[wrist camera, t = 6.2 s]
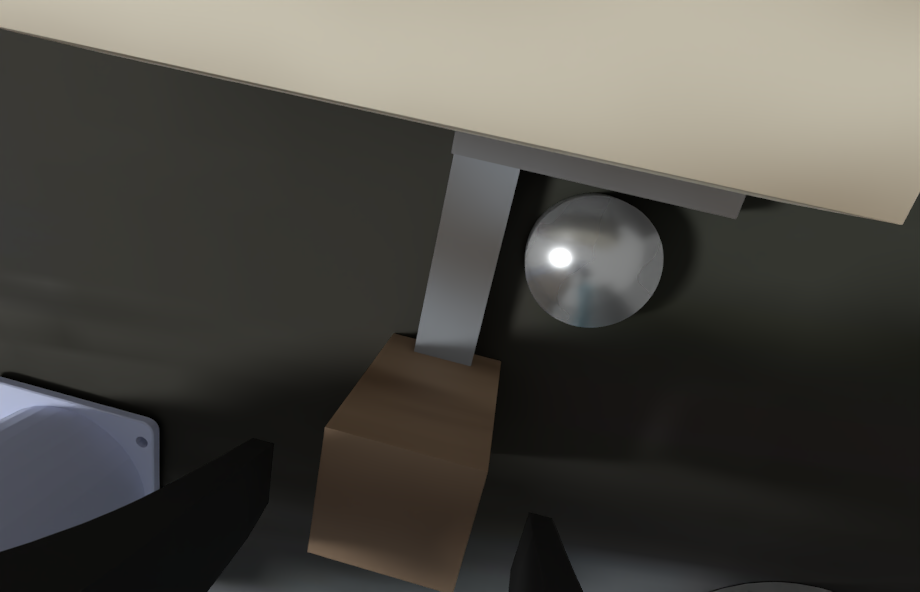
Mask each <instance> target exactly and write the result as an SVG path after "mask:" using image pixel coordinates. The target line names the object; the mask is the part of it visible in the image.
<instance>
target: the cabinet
mask: <svg viewBox="0 0 920 592" xmlns="http://www.w3.org/2000/svg"><path fill="white" fill-rule="evenodd" d="M0 28H1V29H5V30H9V31H13V32H17V33H22V34H26V35H30V36H34V37H38V38H42V39H47V40H51V41H55V42H59V43H63V44H68V45H72V46H76V47H80V48H84V49H88V50H93V51H97V52H101V53H105V54H110V55H114V56H119V57H123V58H128V59H132V60H137V61H141V62H146V63H151V64H155V65H160V66H164V67H169V68H173V69H178V70H182V71H187V72H191V73H196V74H200V75H205V76H210V77H214V78H219V79H223V80H228V81H232V82H237V83H241V84H246V85H250V86H255V87H260V88H264V89H269V90H273V91H278V92H282V93H287V94H291V95H296V96H300V97H305V98H309V99H314V100H319V101H323V102H328V103H332V104H337V105H341V106H346V107H350V108H355V109H359V110H364V111H368V112H373V113H378V114H382V115H387V116H391V117H396V118H400V119H405V120H409V121H414V122H418V123H423V124H428V125H432V126H437V127H441V128H446V129H450V130H455V131H459V132H464V133H468V134H473V135H477V136H482V137H487V138H491V139H496V140H500V141H505V142H509V143H514V144H518V145H523V146H527V147H532V148H537V149H541V150H546V151H550V152H555V153H559V154H564V155H568V156H573V157H577V158H582V159H586V160H591V161H596V162H600V163H605V164H609V165H614V166H618V167H623V168H627V169H632V170H636V171H641V172H645V173H650V174H655V175H659V176H664V177H668V178H673V179H677V180H682V181H686V182H691V183H695V184H700V185H705V186H709V187H714V188H718V189H723V190H727V191H732V192H736V193H741V194H745V195H750V196H754V197H759V198H764V199H768V200H773V201H777V202H783V203H788V204H793V205H799V206H804V207H809V208H815V209H820V210H825V211H830V212H836V213H841V214H846V215H852V216H857V217H862V218H868V219H873V220H878V221H884V222H889V223H894V224H899V225H903V223H904V221H905V219H906V217H907V215H908V213H909V211H910V209H911V208H912V206H913V204H914V202H915V200H916V198H917V196H918V194H919V192H920V0H0Z"/></svg>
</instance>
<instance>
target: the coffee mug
mask: <svg viewBox="0 0 920 592" xmlns="http://www.w3.org/2000/svg"><path fill="white" fill-rule="evenodd" d="M713 592H832V591H830V590H826V589H822V588H818V587H813V586H807V585H802V584H796V583H784V582H761V583H749V584H742V585H737V586H732V587H727V588H723V589H720V590H716V591H713Z"/></svg>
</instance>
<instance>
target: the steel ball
mask: <svg viewBox="0 0 920 592" xmlns="http://www.w3.org/2000/svg"><path fill="white" fill-rule="evenodd" d="M663 260H664V259H663V248H662V243H661V240H660V237H659V234H658V232H657V231H656V229H655V227H654V225H653V224H652V223H651V221H650V220H649V219H648V218H647V217H646V216H645V215H644V214H643V213H642V212H641V211H640V210H638V209H637V208H636V207H634V206H632V205H630V204H628V203H626V202H624V201H622V200H620V199H618V198H615V197H613V196H610V195H606V194H601V193H583V194H577V195H573V196H570V197H567V198H565V199H562V200H560V201H559V202H557V203H555V204H554V205H552V206H551V207H550V208H548V209H547V210H546V211H545V212H544V213H543V214H542V215H541V216H540V217H539V218H538V220H537V221H536V222H535V224H534V226H533V227H532V229H531V231H530V234H529V236H528V239H527V243H526V248H525V274H526V279H527V283H528V286H529V289H530V291H531V293H532V295H533V297H534V298H535V300H536V301H537V302H538V304H539V305H540V306H541V307H542V308H543V309H544V310H545V311H546V312H547V313H548V314H550V315H551V316H553V317H554V318H556V319H558V320H560V321H562V322H564V323H567V324H569V325H573V326H577V327H585V328H595V327H604V326H608V325H612V324H615V323H618V322H620V321H622V320H624V319H626V318H628V317H630V316H631V315H633V314H634V313H636V312H637V311H638V310H639V309H640V308H642V307H643V306H644V304H645V303H646V302H647V301H648V300H649V299H650V297H651V296H652V294H653V293H654V291H655V289H656V287H657V286H658V283H659V280H660V278H661V274H662V270H663Z"/></svg>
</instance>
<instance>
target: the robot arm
mask: <svg viewBox="0 0 920 592" xmlns="http://www.w3.org/2000/svg"><path fill="white" fill-rule="evenodd" d="M273 447H274V444H273V443H270V442H266V441H262V440H258V439H255V438H252V439H250V440H249V441H247V442H245V443H243V444H241V445H240V446H238V447H236V448H234V449H232V450H231V451H229V452H227V453H225V454H224V455H222V456H220V457H218V458H217V459H215V460H213V461H211V462H209V463H208V464H206V465H204V466H202V467H200V468H199V469H197V470H195V471H193V472H191V473H189V474H188V475H186V476H184V477H182V478H180V479H178V480H177V481H175V482H173V483H171V484H169V485H167V486H165V487H163V488H161V489H160V480H159V427H158V424H157V423H156V422H155V421H154V420H153V419H151V418H149V417H145V416H142V415H138V414H134V413H131V412H127V411H124V410H120V409H116V408H113V407H109V406H105V405H102V404H98V403H95V402H91V401H87V400H84V399H80V398H76V397H73V396H69V395H66V394H62V393H58V392H55V391H51V390H47V389H44V388H40V387H37V386H33V385H29V384H26V383H22V382H19V381H15V380H11V379H8V378H4V377H0V592H207V591H208V590H209V589H210V587H211V586H212V585H213V583H214V582H215V581H216V579H217V578H218V577H219V575H220V574H221V573H222V571H223V570H224V569H225V567H226V566H227V565H228V563H229V562H230V561H231V559H232V558H233V557H234V555H235V554H236V553H237V551H238V550H239V549H240V547H241V546H242V545H243V543H244V542H245V540H246V539H247V538H248V536H249V534H250V533H251V531H252V529H253V528H254V526H255V524H256V523H257V521H258V519H259V518H260V516H261V514H262V512H263V511H264V509H265V507H266V505H267V504H268V500H269V489H270V478H271V468H272V457H273ZM509 592H583V590H582V588H581V586H580V584H579V582H578V579H577V577H576V575H575V573H574V570H573V568H572V566H571V563H570V561H569V559H568V556H567V554H566V551H565V549H564V546H563V544H562V541H561V539H560V536H559V534H558V531H557V528H556V525H555V523H554V521H553V519H552V518H549V517H545V516H541V515H538V514H534V513H530V512H529V515H528V518H527V521H526V524H525V527H524V530H523V533H522V536H521V539H520V542H519V545H518V549H517V552H516V555H515V558H514V561H513V564H512V567H511V572H510V583H509Z"/></svg>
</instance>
